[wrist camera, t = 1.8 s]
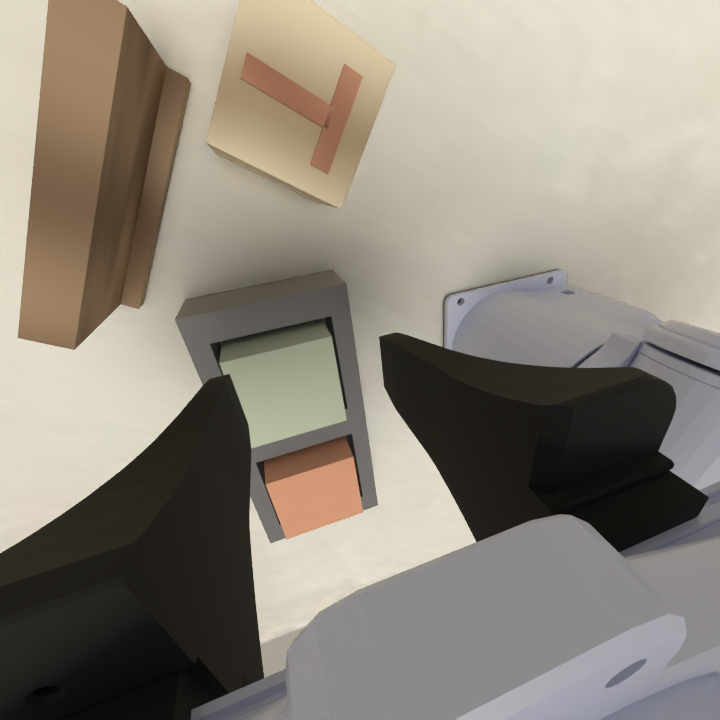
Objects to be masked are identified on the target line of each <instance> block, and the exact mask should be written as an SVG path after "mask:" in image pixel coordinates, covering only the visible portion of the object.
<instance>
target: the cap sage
mask: <svg viewBox="0 0 720 720" xmlns="http://www.w3.org/2000/svg"><path fill="white" fill-rule="evenodd" d="M219 364H220V367H221V369H222V372H223V374H224V375H227V374H230V376H231V379H232V382H233V384H234V387H235V390H236V392H237V395H238V398H239V400H240V403H241V406H242V408H243V411H244V414H245V417H246V419H247V422H248V425H249V433H250V442H251V448H255V447H258V446H261V445H265V444H268V443H272V442H275V441H278V440H282V439H285V438H289V437H292V436H295V435H299V434H302V433H306V432H309V431H312V430H316V429H319V428H323V427H326V426H329V425H333V424H336V423H340V422H343V421H346V420H347V419H346V413H345V407H344V402H343V396H342V391H341V385H340V380H339V374H338V368H337V363H336V357H335V352H334V346H333V341H332V336H331V334H330V332H329V331H328V329H327V327H326V325H325V324H324V322H323V320H322V318H321V319H317V320H312V321H308V322H304V323H299V324H295V325H291V326H286V327H282V328H277V329H273V330H269V331H264V332H260V333H255V334H251V335H247V336H242V337H238V338H233V339H229V340H225V341H222V347H221V354H220V361H219Z"/></svg>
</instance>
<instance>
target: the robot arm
mask: <svg viewBox="0 0 720 720" xmlns="http://www.w3.org/2000/svg"><path fill="white" fill-rule="evenodd" d="M567 275H568V274H567V272H566V271H565V270H556V271H551V272H547V273H543V274H538V275H534V276H530V277H525V278H521V279H517V280H512V281H508V282H504V283H499V284H495V285H491V286H487V287H482V288H478V289H474V290H469V291H465V292H461V293H456V294H452V295H449V296H448V297H447V298H446V300H445V314H444V348H443V347H440V346H437V345H434V344H431V343H428V342H425V341H422V340H419V339H417V338H414V337H411V336H408V335H404V334H401V333H392V334H388V335H384V336H380V337H379V339H380V349H381V359H382V369H383V379H384V387H385V389H386V391H387V393H388V395H389V397H390V399H391V401H392V403H393V405H394V406H395V408H396V410H397V411H398V413H399V414H400V416H401V417H402V418H403V420H404V421H405V423H406V424H407V425H408V427H409V428H410V430H411V431H412V432H413V434H414V435H415V436H416V438H417V439H418V441H419V442H420V443H421V445H422V446H423V448H424V449H425V450H426V452H427V453H428V454H429V456H430V458H431V459H432V461H433V462H434V464H435V465H436V467H437V469H438V470H439V472H440V474H441V476H442V478H443V479H444V481H445V483H446V485H447V486H448V488H449V490H450V492H451V494H452V496H453V497H454V499H455V501H456V503H457V505H458V507H459V509H460V511H461V512H462V514H463V516H464V518H465V520H466V522H467V524H468V526H469V528H470V530H471V532H472V534H473V536H474V538H475V540H476V543H474V544H471V545H469V546H466V547H464V548H461V549H459V550H456V551H454V552H451V553H449V554H446V555H444V556H441V557H439V558H436V559H434V560H432V561H429V562H427V563H424V564H422V565H419V566H417V567H414V568H412V569H409V570H407V571H404V572H402V573H399V574H397V575H394V576H392V577H389V578H387V579H384V580H382V581H379V582H377V583H374V584H372V585H370V586H367V587H365V588H362V589H360V590H357V591H356V592H354V593H352V594H350V595H349V596H347V597H345V598H343V599H341V600H340V601H338V602H336V603H334V604H333V605H331V606H329V607H327V608H326V609H324V610H322V611H320V612H319V613H318V614H317V615H316V616H315V617H314V618H313V620H312V621H311V622H310V623H309V624H308V625H307V626H306V627H305V628H304V630H303V631H302V632H301V633H300V634H299V635H298V636H297V637H296V638H295V640H294V641H293V643H292V645H291V646H290V648H289V649H288V651H287V659H286V669H284V670H282V671H280V672H277V673H275V674H273V675H270V676H268V677H266V678H264V673H263V665H262V657H261V649H260V640H259V631H258V621H257V612H256V602H255V592H254V580H253V569H252V557H251V544H250V530H249V507H250V480H251V442H250V433H249V425H248V422H247V419H246V417H245V414H244V411H243V408H242V406H241V403H240V400H239V398H238V395H237V392H236V390H235V387H234V384H233V382H232V379H231V376H230V374H227V375H223V376H219V377H215V378H211V379H209V380H208V381H207V382H206V383H205V384H204V385H203V386H202V387H201V389H200V390H199V391H198V392H197V394H196V395H195V396H194V397H193V398H192V400H191V401H190V402H189V403H188V404H187V406H186V407H185V408H184V409H183V410H182V411H181V413H180V414H179V415H178V416H177V417H176V418H175V419H174V420H173V422H172V423H171V424H170V425H169V426H168V427H167V428H166V429H165V430H164V431H163V432H162V433H161V434H160V435H159V436H158V438H157V439H156V440H155V441H154V442H153V443H152V444H150V445H149V446H148V447H147V448H146V449H145V450H144V451H143V452H142V453H141V454H140V455H139V456H137V457H136V458H135V459H134V460H133V461H132V462H131V463H129V464H128V465H127V466H126V467H125V468H124V469H122V470H121V471H120V472H119V473H117V474H116V475H115V476H114V477H112V478H111V479H110V480H108V481H107V482H106V483H104V484H103V485H102V486H101V487H99V488H98V489H97V490H95V491H94V492H93V493H91V494H90V495H89V496H88V497H86V498H85V499H83V500H82V501H81V502H79V503H78V504H76V505H75V506H74V507H72V508H71V509H69V510H68V511H66V512H65V513H63V514H62V515H61V516H59V517H58V518H56V519H54V520H53V521H51V522H50V523H48V524H47V525H45V526H44V527H42V528H41V529H39V530H38V531H36V532H35V533H33V534H31V535H30V536H28V537H27V538H25V539H24V540H22V541H20V542H19V543H17V544H15V545H14V546H12V547H10V548H9V549H7V550H5V551H4V552H2V553H0V720H720V333H716V332H713V331H710V330H706V329H703V328H700V327H696V326H693V325H690V324H686V323H683V322H679V321H675V320H670V321H666V322H662V321H661V320H660V319H658V318H657V317H656V316H654V315H653V314H652V313H650V312H648V311H646V310H644V309H641V308H639V307H636V306H632V305H629V304H626V303H623V302H620V301H617V300H613V299H610V298H607V297H604V296H601V295H598V294H594V293H591V292H588V291H585V290H582V289H579V288H575V287H572V286H569V285H566V282H567ZM548 279H549V280H548ZM547 280H548V281H547ZM460 298H461V302H460V303H457V302H458V300H459V299H460Z"/></svg>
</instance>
